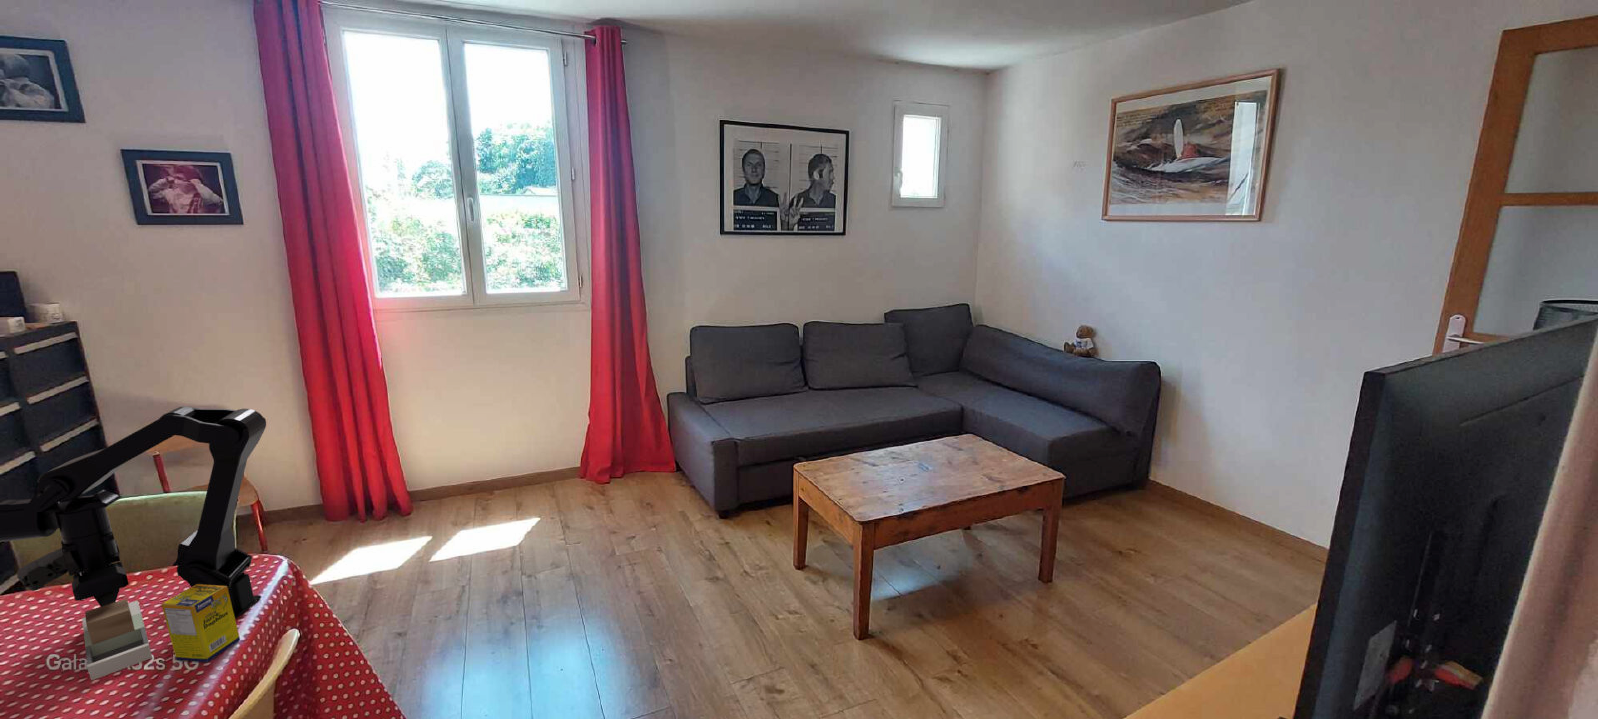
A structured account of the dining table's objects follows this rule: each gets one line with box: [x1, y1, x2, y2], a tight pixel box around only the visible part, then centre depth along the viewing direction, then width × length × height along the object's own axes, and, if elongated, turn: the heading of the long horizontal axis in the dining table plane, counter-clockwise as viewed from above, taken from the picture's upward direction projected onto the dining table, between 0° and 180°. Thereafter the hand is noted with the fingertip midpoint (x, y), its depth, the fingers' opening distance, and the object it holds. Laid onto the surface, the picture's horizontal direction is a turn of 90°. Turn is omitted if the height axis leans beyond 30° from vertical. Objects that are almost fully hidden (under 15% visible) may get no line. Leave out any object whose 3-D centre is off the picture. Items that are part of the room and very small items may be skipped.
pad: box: [83, 612, 148, 657], centre depth 111 cm, size 6×7×2 cm
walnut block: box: [84, 598, 135, 645], centre depth 110 cm, size 5×5×4 cm
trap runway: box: [81, 600, 153, 681], centre depth 112 cm, size 22×7×2 cm, turn 49°
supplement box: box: [161, 584, 241, 664], centre depth 108 cm, size 6×6×11 cm
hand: (108, 609), depth 114 cm, fingers closed
